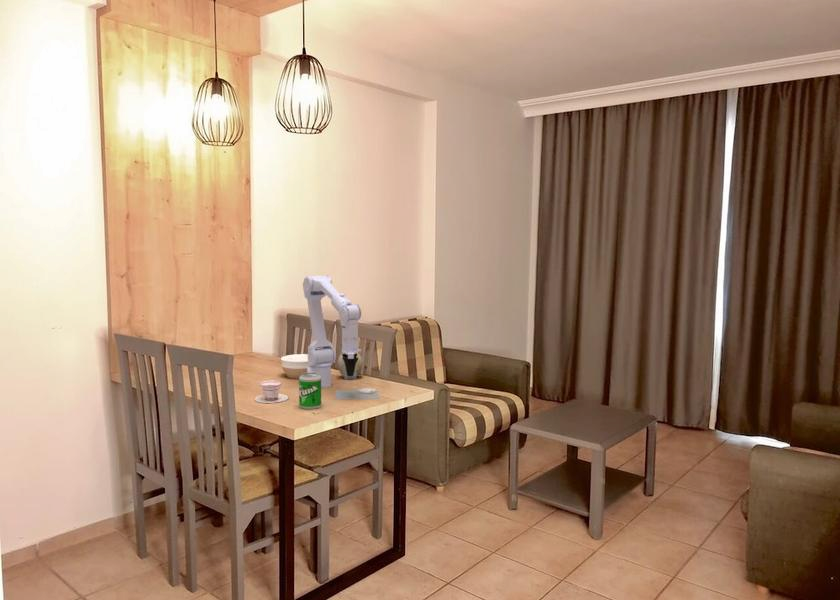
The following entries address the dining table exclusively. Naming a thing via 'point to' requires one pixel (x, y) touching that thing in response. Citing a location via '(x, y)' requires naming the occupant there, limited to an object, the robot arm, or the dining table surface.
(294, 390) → the dining table surface
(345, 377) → the grey metal canister
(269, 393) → the teacup
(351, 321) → the robot arm
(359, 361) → the fruit
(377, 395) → the plate
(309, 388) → the soda can
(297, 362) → the bowl
